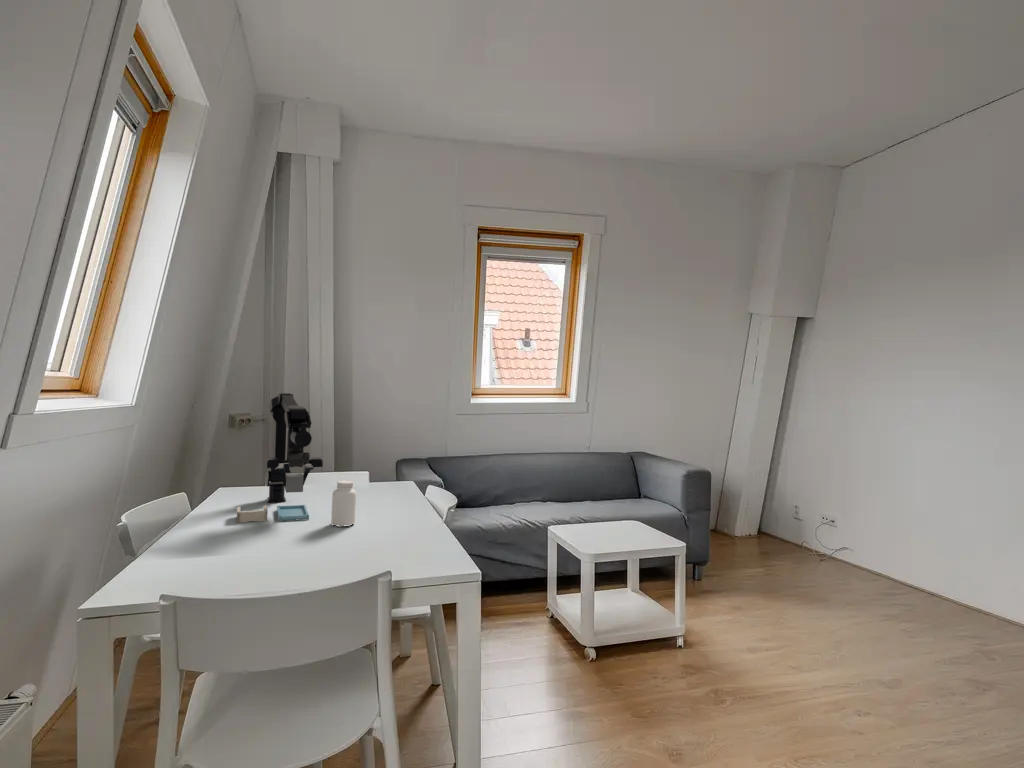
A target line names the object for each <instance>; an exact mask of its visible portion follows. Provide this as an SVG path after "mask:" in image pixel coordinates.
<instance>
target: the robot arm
mask: <svg viewBox="0 0 1024 768" xmlns="http://www.w3.org/2000/svg"><path fill="white" fill-rule="evenodd" d="M268 412H269V413H270V415H269V416H270V418H271V419H272V421H273V426H274V427H273V452H272V453H273V454H272V457H268V458H266V465H265V466H266V468H267V469H268V470H267V471H266V473H265V477H264V485H265V486H266V487H268V488H269V489H268V496H267V498H266V500H267V503H277V502H283V501H284V502H286V501H287V500H286V497H285V493H286V491H285V487H286V480H285V473H292V472H291V469H290V468H298V467H299V468H303V472H302V474H303V476H304V479H303V487H304V486H305V483H306V481H307V477H308V475H309V473H310V472H311V471H312V470H314V469H315V468H323V466H324V465H323V464H324V463H323V462H324V461H323V458H322V457H321V456H310V452H305V447H308V446H309V445H310V444H311V442H312V441H313V440H312V439H313V437H312V434H311V433H310V432H309V431H307V429H311V427H312V420H311V416H310V415H311V414H309V411H308V410H307V408H306V407H304V406H302V405H299V404H298V403H297V401H296V399H295V398H294V394H293V393H290V392H287V393H286V392H281V393H278V395H277V396H275V397H274V398H272V399H270V401H269V403H268ZM284 502H283V503H284Z"/></svg>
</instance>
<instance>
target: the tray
mask: <svg viewBox="0 0 1024 768" xmlns="http://www.w3.org/2000/svg"><path fill="white" fill-rule="evenodd" d="M276 512H278V513H277V518H279V519H278V522H284V521H283V520H294V521H297V520H296V519H310V514H309V511H308V508H307V506H306V504H294V505H292V504H291V505H277V506H276Z"/></svg>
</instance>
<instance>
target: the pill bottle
mask: <svg viewBox="0 0 1024 768" xmlns="http://www.w3.org/2000/svg"><path fill="white" fill-rule="evenodd" d="M336 484H337V487H336V489H334V490H333V492H332V499H331V520H330V521H331V525H332V524H333V525H339V526H344V525H350V524H353V523H356V509H357V508H356V505H357V492H356V490H355V489H353V488H354V482H353V481H351V480H338V481H337V482H336ZM333 525H332V526H333Z"/></svg>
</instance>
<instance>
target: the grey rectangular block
mask: <svg viewBox="0 0 1024 768" xmlns="http://www.w3.org/2000/svg"><path fill="white" fill-rule="evenodd" d="M303 479H304V476H303V472H291V473H285V480H286V487H285V493H304V486H303Z"/></svg>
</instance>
